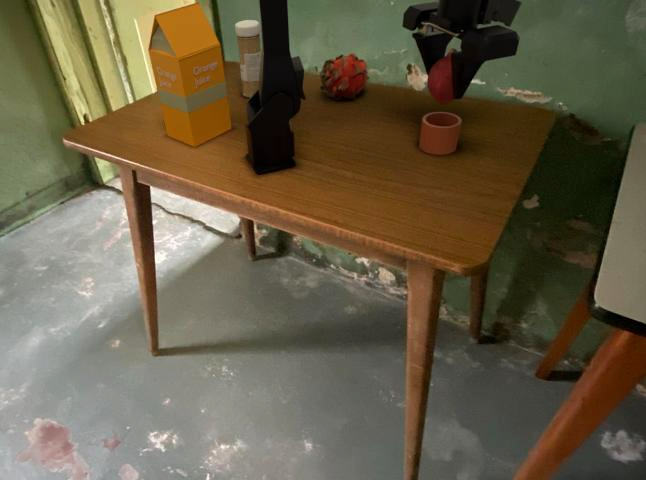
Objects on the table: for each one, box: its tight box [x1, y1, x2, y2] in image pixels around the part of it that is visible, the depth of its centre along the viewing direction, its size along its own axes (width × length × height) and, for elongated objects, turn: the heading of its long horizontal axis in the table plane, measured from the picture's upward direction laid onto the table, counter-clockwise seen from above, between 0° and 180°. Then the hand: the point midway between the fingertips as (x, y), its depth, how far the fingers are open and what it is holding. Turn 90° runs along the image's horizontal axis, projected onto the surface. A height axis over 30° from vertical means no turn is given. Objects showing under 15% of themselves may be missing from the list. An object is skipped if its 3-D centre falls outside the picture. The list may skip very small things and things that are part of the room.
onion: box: [426, 47, 458, 106], centre depth 71 cm, size 6×6×8 cm
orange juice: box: [147, 1, 232, 148], centre depth 81 cm, size 8×9×20 cm
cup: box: [418, 111, 463, 156], centre depth 77 cm, size 6×6×4 cm
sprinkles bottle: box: [234, 19, 262, 99], centre depth 95 cm, size 5×5×14 cm
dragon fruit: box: [319, 53, 370, 101], centre depth 94 cm, size 8×8×12 cm
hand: (445, 91), depth 73 cm, fingers closed on onion, 6 cm apart
